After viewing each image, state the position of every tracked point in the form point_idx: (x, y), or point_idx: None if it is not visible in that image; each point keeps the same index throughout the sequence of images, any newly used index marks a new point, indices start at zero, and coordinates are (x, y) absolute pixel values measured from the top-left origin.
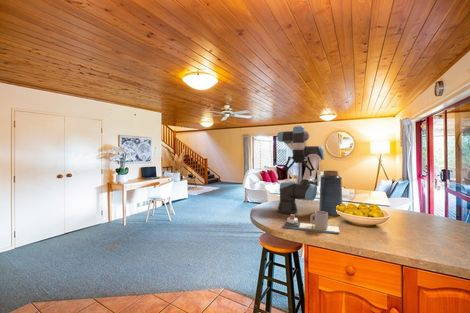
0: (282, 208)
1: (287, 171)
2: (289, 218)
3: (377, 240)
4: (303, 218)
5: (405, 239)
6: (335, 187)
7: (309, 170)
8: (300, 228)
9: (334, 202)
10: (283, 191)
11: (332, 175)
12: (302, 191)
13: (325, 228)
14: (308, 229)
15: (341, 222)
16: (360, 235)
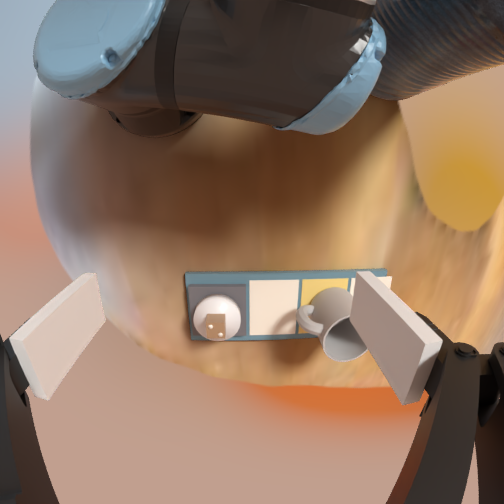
0: (130, 128)
1: (31, 377)
2: (203, 322)
3: (449, 328)
4: (255, 180)
5: (498, 292)
6: (492, 67)
7: (424, 411)
8: (254, 339)
9: (430, 87)
10: (88, 102)
11: None
12: (253, 117)
13: (344, 324)
14: (283, 338)
15: (412, 192)
16: (429, 311)
